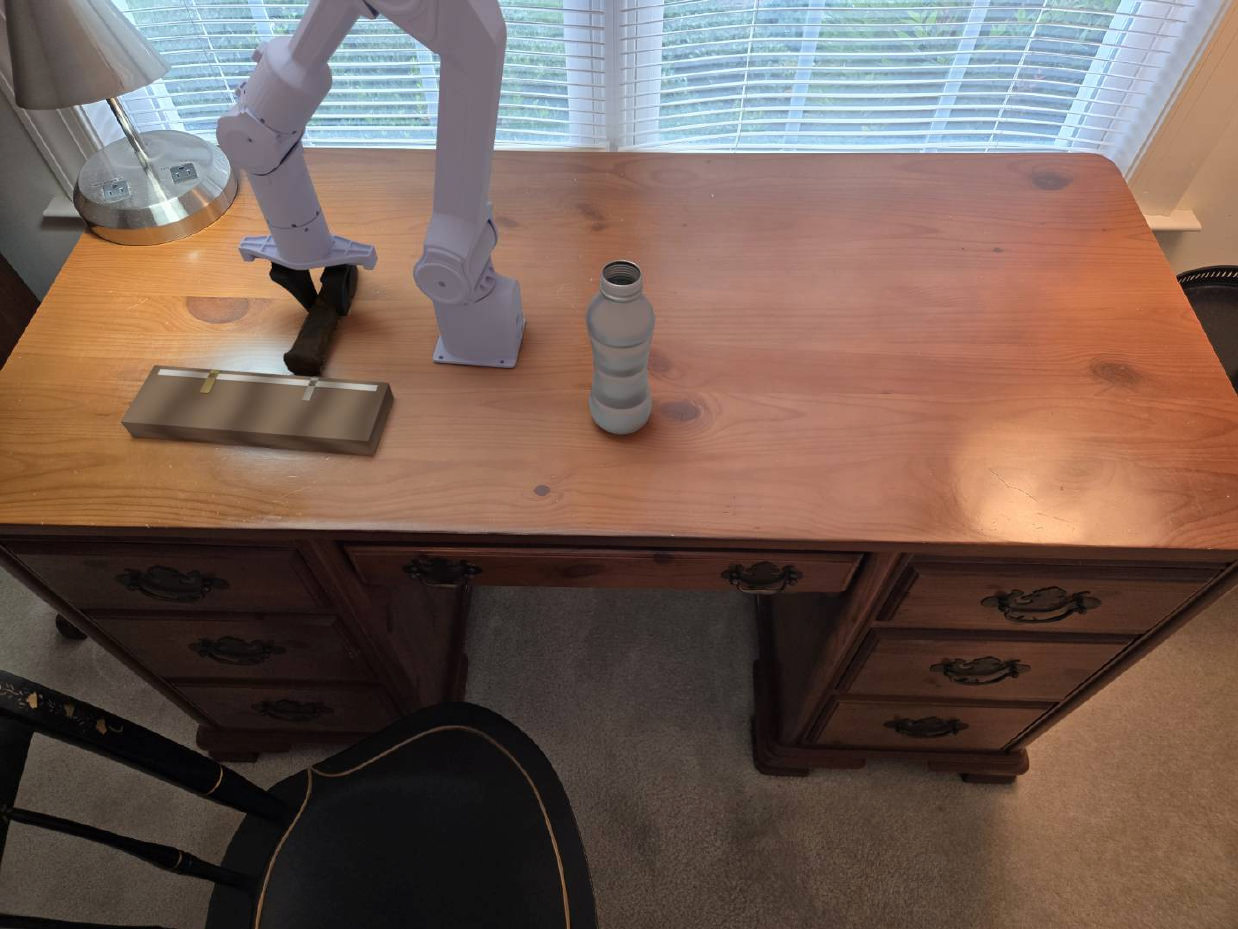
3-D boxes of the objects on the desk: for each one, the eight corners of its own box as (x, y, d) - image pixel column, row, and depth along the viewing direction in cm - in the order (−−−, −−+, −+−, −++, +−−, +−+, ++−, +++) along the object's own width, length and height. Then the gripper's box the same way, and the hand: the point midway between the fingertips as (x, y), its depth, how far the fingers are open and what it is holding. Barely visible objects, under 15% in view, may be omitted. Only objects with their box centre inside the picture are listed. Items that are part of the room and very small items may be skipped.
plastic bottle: (631, 452, 83) (635, 308, 67) (577, 425, 85) (569, 279, 69) (662, 412, 86) (673, 266, 70) (609, 387, 88) (608, 239, 72)
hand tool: (323, 382, 88) (311, 352, 85) (289, 378, 89) (275, 348, 85) (378, 271, 100) (369, 241, 96) (347, 268, 100) (337, 237, 96)
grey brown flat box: (393, 397, 87) (388, 381, 85) (373, 455, 82) (367, 440, 80) (165, 380, 88) (154, 364, 86) (132, 436, 84) (119, 421, 81)
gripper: (371, 192, 84) (399, 290, 95) (239, 184, 85) (281, 282, 96) (352, 234, 80) (383, 332, 91) (213, 225, 81) (260, 323, 92)
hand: (330, 309), depth 93 cm, fingers closed on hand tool, 3 cm apart
